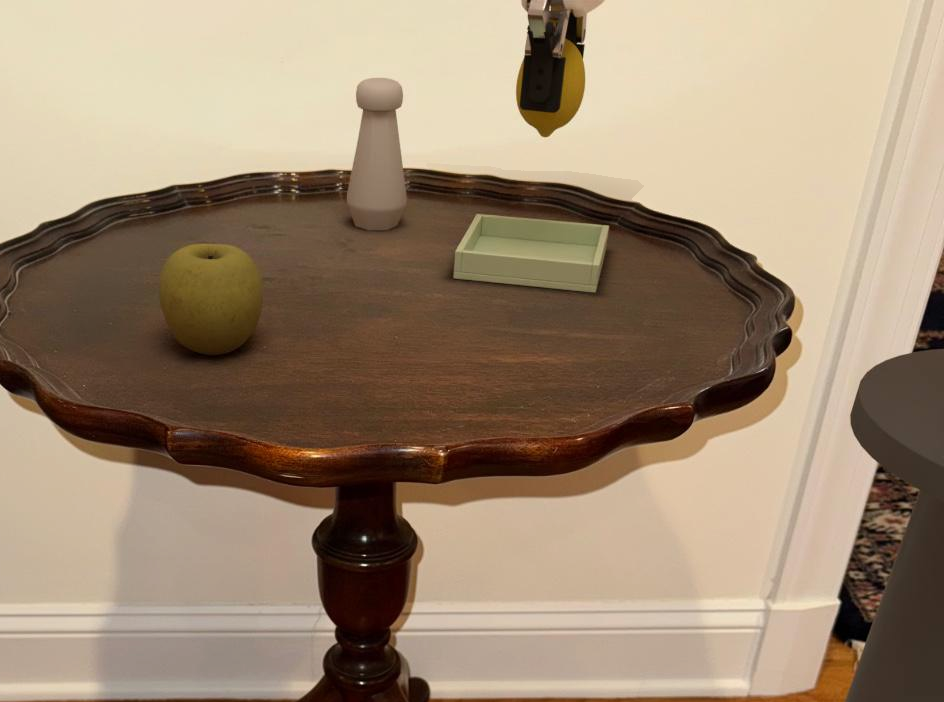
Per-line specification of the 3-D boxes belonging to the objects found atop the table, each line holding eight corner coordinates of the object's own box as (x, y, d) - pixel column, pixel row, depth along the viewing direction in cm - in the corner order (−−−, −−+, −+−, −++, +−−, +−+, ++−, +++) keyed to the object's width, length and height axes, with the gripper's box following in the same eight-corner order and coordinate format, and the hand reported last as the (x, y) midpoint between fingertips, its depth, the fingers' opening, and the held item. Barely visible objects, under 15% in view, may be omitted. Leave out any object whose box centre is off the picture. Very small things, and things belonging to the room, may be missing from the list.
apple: (274, 329, 87) (272, 238, 83) (250, 371, 81) (246, 274, 77) (180, 322, 88) (173, 231, 84) (149, 363, 82) (140, 266, 78)
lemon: (505, 130, 96) (514, 26, 92) (568, 129, 97) (580, 25, 92) (520, 146, 92) (530, 38, 87) (586, 145, 92) (600, 37, 88)
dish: (605, 251, 104) (609, 225, 102) (595, 293, 95) (599, 265, 93) (474, 239, 106) (476, 213, 105) (453, 278, 97) (454, 251, 96)
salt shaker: (408, 233, 107) (415, 86, 100) (348, 234, 107) (350, 86, 99) (401, 214, 112) (407, 73, 105) (344, 215, 112) (346, 73, 104)
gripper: (604, -159, 75) (569, 130, 85) (652, -164, 87) (616, 87, 98) (495, -161, 77) (474, 119, 87) (557, -166, 90) (532, 79, 100)
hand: (549, 100), depth 93 cm, fingers closed on lemon, 5 cm apart
